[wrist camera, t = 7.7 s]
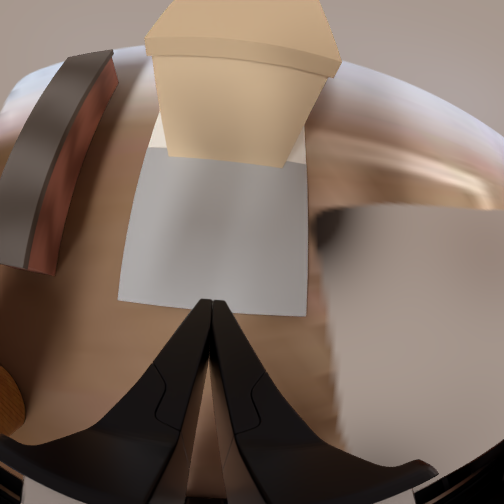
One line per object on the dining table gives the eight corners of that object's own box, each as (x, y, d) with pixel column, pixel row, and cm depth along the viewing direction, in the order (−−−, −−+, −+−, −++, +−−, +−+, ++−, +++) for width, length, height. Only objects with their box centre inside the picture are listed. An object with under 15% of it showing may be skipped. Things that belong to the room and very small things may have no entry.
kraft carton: (284, 170, 21) (342, 62, 10) (165, 158, 19) (144, 38, 9) (283, 65, 24) (311, -16, 14) (197, 55, 23) (202, -31, 12)
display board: (303, 316, 19) (306, 316, 18) (120, 300, 17) (117, 299, 17) (299, 78, 25) (300, 75, 24) (179, 64, 23) (179, 61, 22)
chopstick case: (56, 278, 16) (22, 267, 12) (12, 270, 16) (-21, 258, 11) (121, 81, 21) (112, 49, 17) (79, 86, 21) (68, 57, 16)
